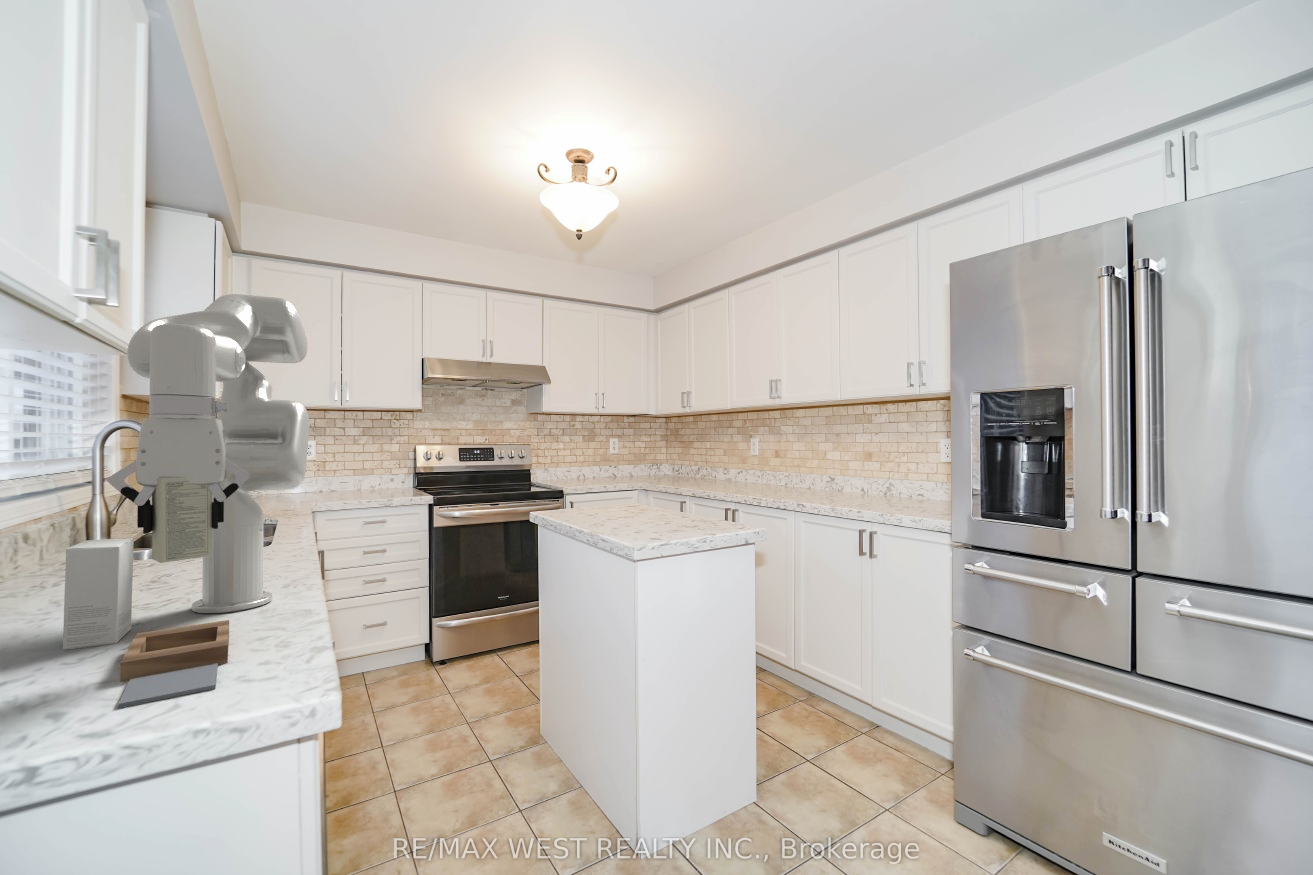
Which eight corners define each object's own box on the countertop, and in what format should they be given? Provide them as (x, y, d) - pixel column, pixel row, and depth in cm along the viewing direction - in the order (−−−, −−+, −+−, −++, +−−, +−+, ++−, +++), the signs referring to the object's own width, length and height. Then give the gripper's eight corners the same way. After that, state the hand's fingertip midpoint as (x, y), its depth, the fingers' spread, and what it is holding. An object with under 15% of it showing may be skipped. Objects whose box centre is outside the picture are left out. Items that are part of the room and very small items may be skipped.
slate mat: (130, 682, 74) (130, 678, 74) (217, 666, 79) (217, 663, 79) (118, 707, 67) (118, 703, 67) (215, 688, 72) (215, 684, 72)
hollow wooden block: (136, 649, 86) (136, 633, 86) (229, 635, 93) (229, 619, 93) (120, 682, 74) (120, 662, 74) (227, 662, 81) (227, 644, 81)
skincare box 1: (82, 635, 93) (83, 539, 93) (135, 628, 96) (136, 536, 97) (60, 651, 86) (62, 547, 86) (119, 643, 89) (120, 543, 89)
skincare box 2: (202, 553, 88) (203, 474, 88) (213, 556, 85) (214, 475, 85) (149, 560, 82) (150, 476, 83) (158, 563, 80) (159, 477, 80)
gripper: (254, 412, 92) (254, 522, 92) (107, 408, 82) (105, 532, 82) (255, 410, 86) (255, 527, 86) (96, 405, 76) (95, 539, 76)
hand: (182, 529), depth 84 cm, fingers closed on skincare box 2, 7 cm apart
